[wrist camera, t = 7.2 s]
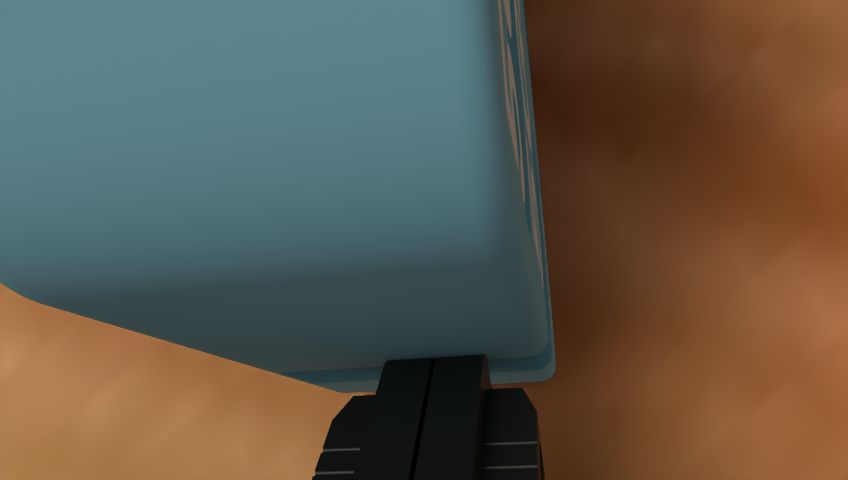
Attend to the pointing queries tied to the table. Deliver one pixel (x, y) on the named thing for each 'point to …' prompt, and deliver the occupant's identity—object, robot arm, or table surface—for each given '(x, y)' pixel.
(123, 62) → the data package
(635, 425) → the table surface
